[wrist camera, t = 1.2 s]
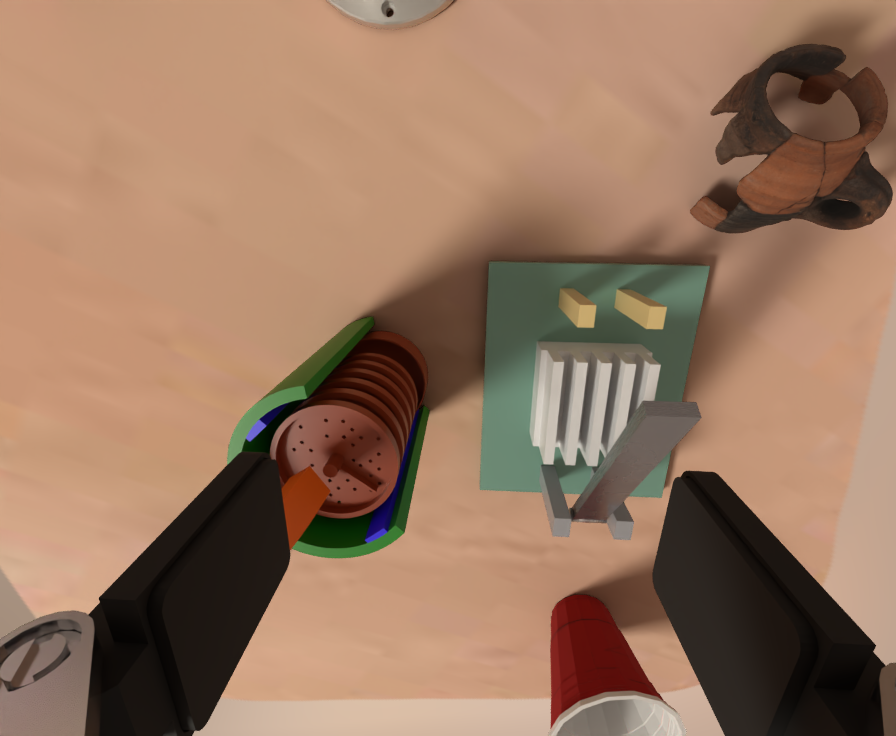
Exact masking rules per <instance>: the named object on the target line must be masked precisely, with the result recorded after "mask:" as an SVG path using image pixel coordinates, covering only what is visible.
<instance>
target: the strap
mask: <svg viewBox="0 0 896 736" xmlns="http://www.w3.org/2000/svg"><path fill="white" fill-rule="evenodd" d="M700 419H701V415H700V412H699V409H698V406H697V403H696V402H670V401H642V403H641V404H640V406H639V407H638V409H637V410H636V412H635V413H634V415H633V416H632V418H631V419H630V421H629V422H628V424H627V425H626V427H625V428H624V430H623V431H622V433H621V435H620V436H619V438H618V439H617V441H616V442H615V444H614V445H613V447H612V448H611V450H610V451H609V453H608V454H607V456H606V457H605V459H604V460H603V462H602V463H601V465H600V466H599V468H598V469H597V471H596V472H595V474H594V475H593V477H592V478H591V480H590V481H589V483H588V484H587V486H586V488H585V489H584V491H583V492H582V494H581V495H580V497H579V498H578V500H577V501H576V503H575V504H574V506H573V507H572V508H569V513H570V516H571V522H586V523H607V519H608V518H609V516H610V515H611V514H612V513H613V512H614V511H615V510H616V509H617V508H618V507H619V506H620V505H621V504H622V503H623V501H624V500H625V499H626V498H627V497H628V496H629V495H630V494H631V493H632V492H633V491H634V490H635V489H636V487H637V486H638V485H639V484H640V483H641V482H642V481H643V480H644V479H645V478H646V477H647V476H648V475H649V474H650V472H651V471H652V470H653V469H654V468H655V467H656V466H657V465H658V464H659V463H660V462H661V461H662V460H663V458H664V457H665V456H666V455H667V454H668V453H669V452H670V451H671V450H672V449H673V448H674V447H675V446H676V445H677V443H678V442H679V441H680V440H681V439H682V438H683V437H684V436H685V435H686V434H687V433H688V432H689V431H690V429H691V428H692V427H693V426H694V425H695V424H696V423H697V422H698V421H699V420H700Z"/></svg>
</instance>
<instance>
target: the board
mask: <svg viewBox="0 0 896 736" xmlns="http://www.w3.org/2000/svg"><path fill="white" fill-rule="evenodd" d="M709 269H710V266H707V265H695V264H634V263H573V262H511V261H489V268H488V293H487V317H486V342H485V366H484V390H483V415H482V439H481V464H480V490H496V491H519V492H542V495H543V499H544V503H545V507H546V511H547V515H548V519H549V523H550V528H551V532H552V536H558V537H569V535H570V527H571V516H570V513H569V510H568V506H567V503H566V500H565V497H564V494H563V493H565V494H582V492H583V491H584V489H585V488H586V486H587V484H588V483H589V481H590V480H591V478H592V477H593V475H594V474H595V472H596V471H597V469H598V468H599V466H600V465H601V463H602V462H603V460H604V459H605V457H606V456H607V454H608V453H609V451H610V450H611V448H612V447H613V445H614V444H615V442H616V441H617V439H618V438H619V436H620V435H621V433H622V431H623V430H624V428H625V427H626V425H627V424H628V422H629V421H630V419H631V418H632V416H633V415H634V413H635V412H636V410H637V409H638V407H639V406H640V404H641V403H642V401H670V402H682V398H683V393H684V388H685V383H686V379H687V374H688V369H689V364H690V359H691V355H692V350H693V345H694V340H695V336H696V331H697V326H698V321H699V316H700V312H701V307H702V302H703V297H704V292H705V288H706V283H707V278H708V273H709ZM670 455H671V451H670V452H669V453H668V454H667V455H666V456H665V457H664V458H663V460H662V461H661V462H660V463H659V464H658V465H657V466H656V467H655V468H654V469H653V470H652V471H651V472H650V474H649V475H648V476H647V477H646V478H645V479H644V480H643V481H642V482H641V483H640V484H639V485H638V486H637V487H636V489H635V490H634V491H633V492H632V493H631V494H630V495H629V496H634V497H657V498H662V493H663V489H664V484H665V479H666V474H667V470H668V465H669V460H670ZM633 524H634V521H633V519H632V517H631V515H630V513H629V511H628V509H627V508H626V506H625V504H624V502H623V503H622V504H621V505H620V506H619V507H618V508H617V509H616V510H615V511H614V512H613V513H612V514H611V515H610V516H609V518H608V519H607V525H608V527H609V529H610V532H611V534H612V536H613V539H619V540H631V535H632V530H633Z"/></svg>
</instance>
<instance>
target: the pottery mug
mask: <svg viewBox="0 0 896 736" xmlns="http://www.w3.org/2000/svg"><path fill="white" fill-rule="evenodd" d="M845 59H846V55H845V54H844V53H843V52H842V51H841V50H840V49H839V48H836V47H831V46H827V45H817V44H803V45H797V46H793V47H790V48H787V49H785V50H784V51H780V52H778V53H776V54H773V55H772V56H771V57H770V58H769V59H767V60H766V61H765V62H764V63H763V64H762V65H761V66H760V67H759V68H758V69H755V70H754V71H753V72H751V73H748V74H746V75H744V76H743V77H742V78H741V79H739V80H738V82H737V83H736V84H735V85H734V87H733V88H732V89H731V90H730V91H729V92H728V93H727V94H726V95H725V96H724V98H723V99H722V100H720V101H719V102H718V104H717V105H716V106H715V107H714V109H713V110H712V111H711V115H713V116H714V115H717V114H720V113H724V112H727V113H731V112H732V113H735V112H737V113H738V114H737V115H736V116H735V117H734V118H732V119H731V120H730V122H729V124H728V125H727V126H726V128H725V130H724V133H723V137H722V140H721V141H720V142H719V144H718V145H717V147H716V156H717V160H718V162H719V164H721V165H723V164H725V163H727V162H729V161H730V160H732V159H733V158H734V157H742V156H748V155H754V154H758V155H762V154H767V155H768V156H767V157H766V158H765V159H764V160H763V161H762V162H761V163H760V164H759V165H758V166H757V167H756V168H755V169H754V170H753V171H752V172H750V173H749V174H748V175H746V176H745V177H743V178H742V179H741V180H740V182H739V185H738V187H737V194H738V195H739V197H740V198H741V199H742V200H741V201H740V202H739V203H738V205H737V206H736V207H735V209H734V210H732V211H727V210H725V209H724V208H722V207H720V206H719V205H717V204H716V203H715V202H713V201H712V200H711V199H710V198H709V197H707V196H705V197H703V198H701V199H700V200H699V201H698V202H697V205H695V206H694V207H693V208H692V209H691V210H690V212H691V214H692V215H693V216H694V217H695V218H696V219H697V220H698V221H700V222H701V223H702V224H704V225H706V226H708V227H710V228H713V229H715V230H717V231H721V232H726V233H743V232H748V231H751V230H754V229H756V228H759V227H763V226H766V225H772V224H776V223H779V222H781V221H788V220H791V219H792V218H798V219H804V220H808V221H811V222H813V223H816V224H818V225H821V226H824V227H828V228H832V229H839V230H851V229H857V228H861V227H863V226H866V225H868V224H872V223H873V222H874V221H875V220H876V219H878V218H880V217H882V216H883V215H884V213H885V212H886V210H887V208H888V207H889V205H890V204H891V201H892V196H893V192H892V188H891V186H890V184H889V182H888V181H887V180H886V178H885V177H883V176H882V175H881V174H880V173H879V172H878V171H877V170H876V169H875V168H874V167H873V166H872V165H871V163H870V160H869V154H868V153H867V152H866V151H865V146H866V145H867V144H869V143H870V142H871V141H872V140H874V139H875V138H876V137H877V136H878V134H879V133H880V132H881V130H882V129H883V125H884V124H885V120H886V118H887V111H888V110H887V108H888V102H887V96H886V94H885V89H884V87H883V85H882V83H881V81H880V80H879V78H878V77H877V76H876V74H875V73H874V72H873V71H872V70H871V69H870V68H868V67H866V68H864V69H863V70H861V71H860V72H859V73H857V74H856V75H855V76H854V77H853V78H849V77H847V76H846V75H845V74H844V73H842V72H840V71H837V70H835V69H834V68H836V67H837V66H839V65H840V64H841V63H843V62H844V61H845ZM778 72H782V73H787V74H790V75H792V76H794V77H797V78H799V79H801V80H804V81H803V82H802V84H801V87H800V91H799V94H798V98H800V99H801V100H804V101H807V102H809V103H814V104H824V103H826V102H827V101H828V100H829V99H830V98H831V97H832V95H833V93H834V92H835V91H837V90H838V89H840V90H841V91H842V92H843V93H845V94H846V95H847V97H848V98H849V99H850V101H851V102H852V103H853V105H854V106H855V109H856V111H857V112H858V116H859V121H860V129H859V132H858V133H857V134H856V135H855V136H853V137H851V138H848V139H845V140H840V141H832V142H822V141H817V140H812V139H809V138H806V137H803V136H800V135H798V134H796V133H792V132H791V131H790V130H789V129H788V128H787V127H786V126H784V125H783V124H782V123H781V122H780V121H779V120H778V119H777V118H776V116H775V115H774V113H773V112H772V110H771V107H770V106H769V103H768V100H767V93H766V87H767V83H768V81H769V79H770V76H771V75H773V74H774V73H778ZM837 199H845V200H848V201H841V200H837ZM850 201H851V202H850Z"/></svg>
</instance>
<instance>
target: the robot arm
mask: <svg viewBox="0 0 896 736" xmlns="http://www.w3.org/2000/svg"><path fill="white" fill-rule="evenodd" d="M326 1H327V2H328V3H329V4H330V5H332V6H333V7H334V8H335V9H336V10H338V11H339V12H340V13H341V14H342V15H344V16H346V17H348V18H350V19H352V20H353V21H355V22H357V23H359V24H362V25H366V26H369V27H373V28H376V29H390V30H397V29H402V28H408V27H413V26H416V25H418V24H420V23H423V22H425V21H427V20H430V19H432V18H433V17H434V16H436V15H437V14H438V13H440V12H441V11H443V10H444V9H445V8H447V7H448V6H449V5H450V4H451V3H452V2H453V0H326ZM389 11H393V12H394V14H393V16H391V17H387V13H388V12H389ZM289 561H290V546H289V539H288V532H287V525H286V518H285V511H284V504H283V496H282V489H281V482H280V475H279V468H278V463H277V461H276V460H275V459H271V457H270V455H269V454H268V453H263V452H240V453H239V454H238V455H237V456H236V457H235V458H234V459H233V460H232V461H231V462H230V463H229V464H228V465H227V466H226V467H225V468H224V469H223V470H222V471H221V472H220V473H219V474H218V475H217V476H216V477H215V478H214V479H213V480H212V482H211V483H210V484H209V485H208V486H207V487H206V488H205V489H204V490H203V491H202V492H201V493H200V494H199V495H198V496H197V497H196V498H195V499H194V500H193V501H192V502H191V503H190V504H189V505H188V506H187V507H186V508H185V509H184V511H183V512H182V513H181V514H180V515H179V516H178V517H177V518H176V519H175V520H174V521H173V522H172V523H171V524H170V525H169V526H168V527H167V528H166V529H165V530H164V531H163V532H162V533H161V534H160V535H159V536H158V537H157V538H156V539H155V541H154V542H153V543H152V544H151V545H150V546H149V547H148V548H147V549H146V550H145V551H144V552H143V553H142V554H141V555H140V556H139V557H138V558H137V559H136V560H135V561H134V562H133V563H132V564H131V565H130V566H129V567H128V568H127V569H126V571H125V572H124V573H123V574H122V575H121V576H120V577H119V578H118V579H117V580H116V581H115V582H114V583H113V584H112V585H111V586H110V587H109V588H108V589H107V590H106V591H105V592H104V593H103V594H102V595H101V596H100V597H99V601H100V603H99V604H98V605H97V606H96V607H95V608H94V609H93V610H92V611H91V613H90V614H89V615H87V614H86V613H84V612H79V611H63V612H57V613H53V614H50V615H46V616H43V617H40V618H37V619H35V620H33V621H31V622H28V623H26V624H24V625H22V626H20V627H18V628H17V629H15V630H14V631H12V632H10V633H9V634H7V635H6V636H4V637H2V638H1V639H0V736H192V735H193V733H194V731H200V730H201V729H202V728H203V727H204V726H205V725H206V723H207V722H208V720H209V718H210V716H211V714H212V712H213V711H214V709H215V707H216V705H217V702H218V701H219V699H220V697H221V695H222V693H223V691H224V689H225V688H226V686H227V684H228V682H229V680H230V678H231V676H232V674H233V672H234V670H235V668H236V666H237V664H238V663H239V661H240V659H241V657H242V655H243V653H244V651H245V649H246V647H247V645H248V643H249V641H250V639H251V638H252V636H253V634H254V632H255V630H256V628H257V626H258V624H259V622H260V620H261V618H262V616H263V614H264V613H265V611H266V609H267V607H268V605H269V603H270V601H271V599H272V597H273V595H274V593H275V591H276V589H277V588H278V586H279V584H280V582H281V580H282V578H283V576H284V574H285V572H286V570H287V568H288V565H289ZM653 584H654V588H655V590H656V593H657V595H658V597H659V599H660V601H661V603H662V605H663V607H664V609H665V611H666V613H667V616H668V618H669V620H670V622H671V624H672V626H673V628H674V630H675V632H676V634H677V636H678V639H679V641H680V643H681V645H682V647H683V649H684V651H685V653H686V655H687V657H688V659H689V662H690V664H691V666H692V668H693V670H694V672H695V674H696V676H697V678H698V680H699V682H700V685H701V687H702V689H703V690H704V693H705V695H706V697H707V699H708V701H709V703H710V705H711V707H712V710H713V712H714V714H715V716H716V718H717V720H718V722H719V724H720V726H721V728H722V730H723V732H724V735H725V736H896V663H890V664H888V665H887V666H885V664H884V663H882V662H881V660H880V659H879V658H878V657H877V656H876V655H875V654H874V652H873V651H874V649H875V647H876V645H875V644H874V643H873V642H872V640H871V639H870V638H869V637H868V636H867V635H866V634H865V633H864V632H863V631H862V630H861V629H860V627H859V626H857V624H856V623H855V622H854V621H853V620H852V619H851V618H850V617H849V616H848V615H847V613H846V612H845V611H844V610H843V609H842V608H841V607H840V606H839V605H838V604H837V603H836V602H835V601H834V600H833V598H832V597H831V596H830V595H829V594H828V593H827V592H826V591H825V590H824V589H823V587H822V586H821V585H820V584H819V583H818V582H817V581H816V580H815V579H814V578H813V577H812V576H811V575H810V573H809V572H808V571H807V570H806V569H805V568H804V567H803V566H802V565H801V564H800V563H799V562H798V560H797V559H796V558H795V557H794V556H793V555H792V554H791V553H790V552H789V551H788V550H787V549H786V547H785V546H784V545H783V544H782V543H781V542H780V541H779V540H778V539H777V538H776V537H775V536H774V535H773V533H772V532H771V531H770V530H769V529H768V528H767V527H766V526H765V525H764V524H763V523H762V522H761V520H760V519H759V518H758V517H757V516H756V515H755V514H754V513H753V512H752V511H751V510H750V509H749V507H748V506H747V505H746V504H745V503H744V502H743V501H742V500H741V499H740V498H739V497H738V496H737V495H736V493H735V492H734V491H733V490H732V489H731V488H730V487H729V486H728V485H727V484H726V483H725V482H724V480H723V479H722V478H721V477H720V476H719V475H718V474H716V473H715V472H702V471H685V472H684V473H683V474H682V476H681V477H677V478H675V480H674V482H673V485H672V490H671V494H670V498H669V503H668V507H667V512H666V516H665V520H664V525H663V529H662V533H661V538H660V542H659V546H658V551H657V555H656V559H655V564H654V568H653Z"/></svg>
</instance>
